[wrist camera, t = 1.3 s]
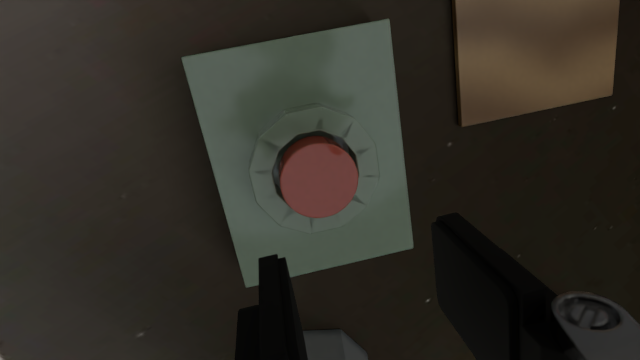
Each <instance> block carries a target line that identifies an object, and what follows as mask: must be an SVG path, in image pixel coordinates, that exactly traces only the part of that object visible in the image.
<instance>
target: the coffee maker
mask: <svg viewBox="0 0 640 360" xmlns="http://www.w3.org/2000/svg"><path fill="white" fill-rule="evenodd" d="M303 335H304V340H305V345H306V351H307V357H308V360H368V357H367V352H366V351H365V350H364V349H362V348H361V347H360V346H359V345H358V344H357V343H356V342H354V341H353V340H352V339H351V338H350V337H349V336H348V335H347V334H345V333H344V332H343V331H342V330H341V329H332V330H310V331H303Z"/></svg>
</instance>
